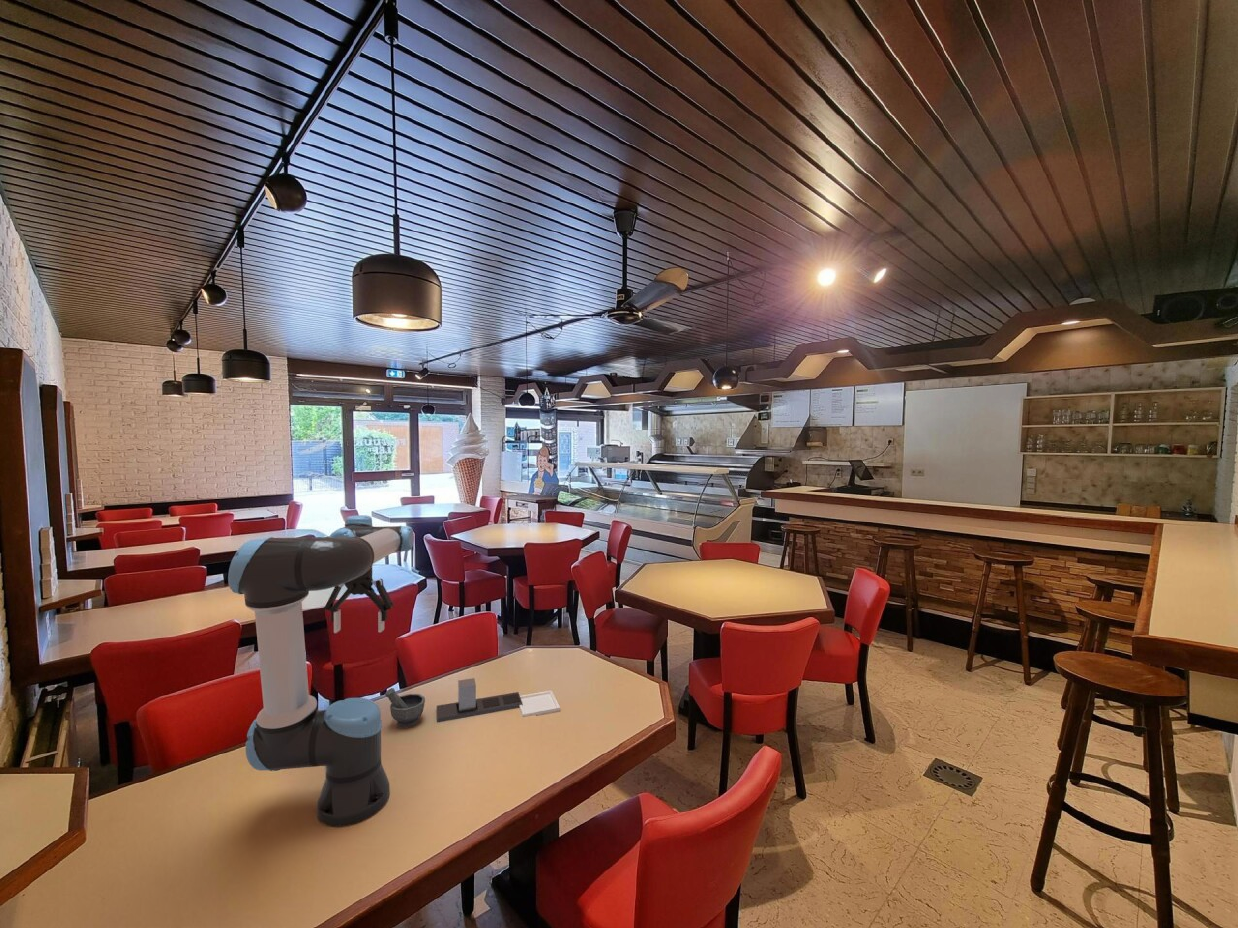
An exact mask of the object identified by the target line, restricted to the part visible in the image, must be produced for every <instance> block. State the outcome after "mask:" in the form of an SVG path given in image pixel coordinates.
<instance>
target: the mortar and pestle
mask: <svg viewBox="0 0 1238 928" xmlns="http://www.w3.org/2000/svg"><path fill="white" fill-rule="evenodd" d="M384 696H385V697H387V699H388V700H389V701H390V705H389V711H390V717H392V719H393V720H394V721H396V722H397V723H396V728H400V729H408V728H411V727H414V726H415V725H417V724H418V723H419V719H420V717H421V716H422V715H423V711H424V707H425V702H426V697H425V695H424V696H423V695H422V694H419V693H408V694H403V695H399V694H398V693H397V692H396V690H395V688H393V687H391V688H389V689H388V690H386V692H385V693H384Z"/></svg>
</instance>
